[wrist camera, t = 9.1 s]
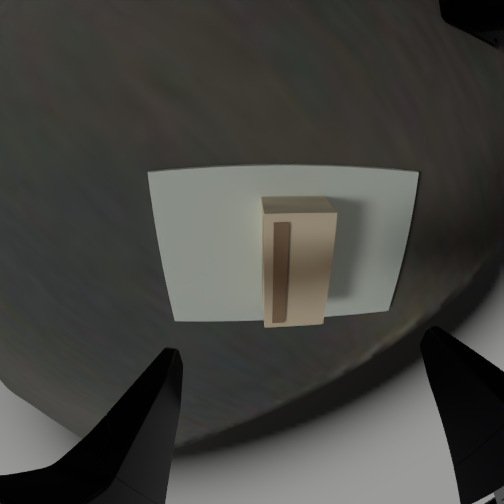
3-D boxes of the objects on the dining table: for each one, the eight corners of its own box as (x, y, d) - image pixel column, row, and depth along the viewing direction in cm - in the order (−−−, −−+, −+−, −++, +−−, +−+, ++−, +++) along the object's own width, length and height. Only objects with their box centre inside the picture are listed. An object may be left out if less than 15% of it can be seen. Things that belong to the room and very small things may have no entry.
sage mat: (415, 170, 17) (418, 172, 17) (386, 307, 23) (388, 310, 23) (150, 170, 17) (147, 172, 17) (176, 317, 23) (174, 321, 23)
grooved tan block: (314, 297, 22) (323, 325, 19) (262, 300, 22) (264, 329, 19) (323, 195, 18) (338, 213, 15) (261, 196, 18) (264, 214, 15)
